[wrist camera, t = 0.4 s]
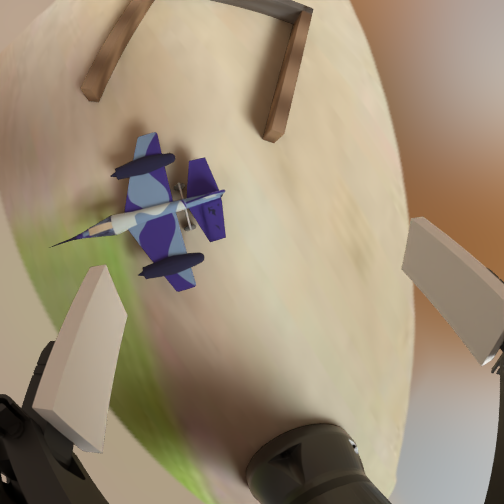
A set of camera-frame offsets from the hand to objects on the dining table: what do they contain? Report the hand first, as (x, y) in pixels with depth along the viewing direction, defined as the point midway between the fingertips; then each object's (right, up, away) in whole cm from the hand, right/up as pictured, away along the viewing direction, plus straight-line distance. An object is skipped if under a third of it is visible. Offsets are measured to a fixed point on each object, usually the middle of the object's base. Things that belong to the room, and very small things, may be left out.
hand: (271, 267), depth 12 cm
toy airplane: (-10, +4, +14) cm, 18 cm away
